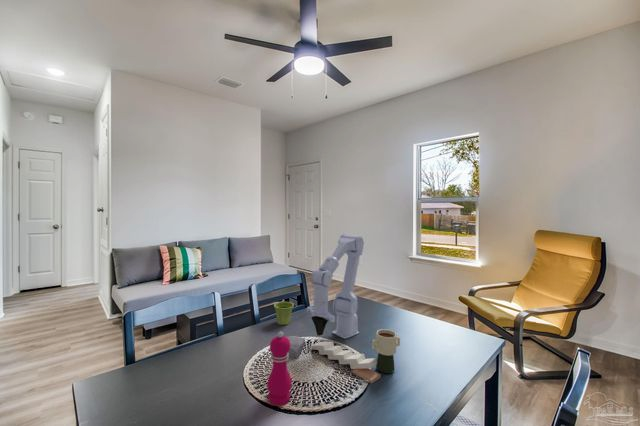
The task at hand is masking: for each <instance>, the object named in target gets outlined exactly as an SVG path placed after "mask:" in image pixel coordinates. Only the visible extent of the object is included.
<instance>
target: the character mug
mask: <svg viewBox="0 0 640 426" xmlns="http://www.w3.org/2000/svg"><path fill="white" fill-rule="evenodd" d="M397 335H398V334H397V333H396V331H393V330H392V329H385V328H384V329H383V328H380V329H378V330H377V331H376V334H375V339H372V340H371V349H372V350H376V352H377V353H378V354H377V357H376V359H377V364H376V365H375V366H376V367H375V368H376V370H378V371H380V372H382V373H384V374H391V373H393V372H395V359H394V358H395V357H394V355H395V354H396V353H397V347H399V346H400V345H401V338H400V336H397Z"/></svg>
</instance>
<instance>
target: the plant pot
mask: <svg viewBox="0 0 640 426" xmlns="http://www.w3.org/2000/svg"><path fill="white" fill-rule="evenodd" d="M294 306H295V305H294V303H293V302H290V301H280V302H276V303H274V305H273V307H274V310H275V315H276V316H275V317H276V322H277V323H276V324H278V325H281V326H283V325H284V326H286V325H289V324H290V322H291V316H292V312H293V311H292V310H293V309H294Z"/></svg>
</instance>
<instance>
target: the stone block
mask: <svg viewBox="0 0 640 426" xmlns="http://www.w3.org/2000/svg"><path fill="white" fill-rule="evenodd" d="M286 337H287V338H288V339H289V341H290V345H291V346H290V350H289V351H288V353H289V355H288V356H289V359H290V358H292V359H299V357H300V355H301V352H302V351H303V348H304V347H305V345H306V341H305V340H306V339H305V337H301V336H295V335H291V336H286Z"/></svg>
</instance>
